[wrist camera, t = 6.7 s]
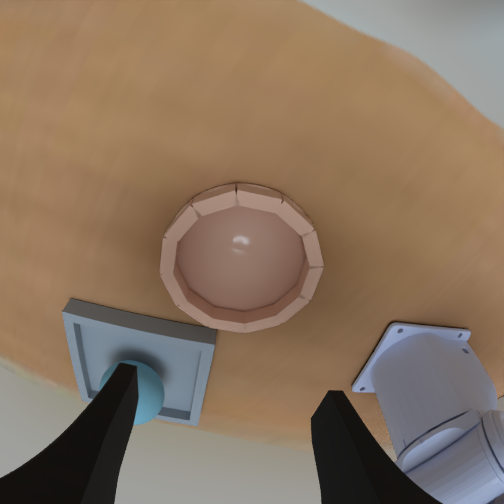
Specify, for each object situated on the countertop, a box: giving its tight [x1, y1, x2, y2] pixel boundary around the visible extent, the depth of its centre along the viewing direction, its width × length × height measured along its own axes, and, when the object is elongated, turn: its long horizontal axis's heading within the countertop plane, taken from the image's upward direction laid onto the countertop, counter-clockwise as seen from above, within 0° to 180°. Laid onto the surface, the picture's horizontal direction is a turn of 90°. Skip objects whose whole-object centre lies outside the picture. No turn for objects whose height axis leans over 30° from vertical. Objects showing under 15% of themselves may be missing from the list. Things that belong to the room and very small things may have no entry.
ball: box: [99, 360, 165, 425], centre depth 21 cm, size 5×5×5 cm
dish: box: [160, 183, 324, 333], centre depth 19 cm, size 9×9×2 cm
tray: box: [62, 298, 217, 426], centre depth 23 cm, size 11×11×2 cm
